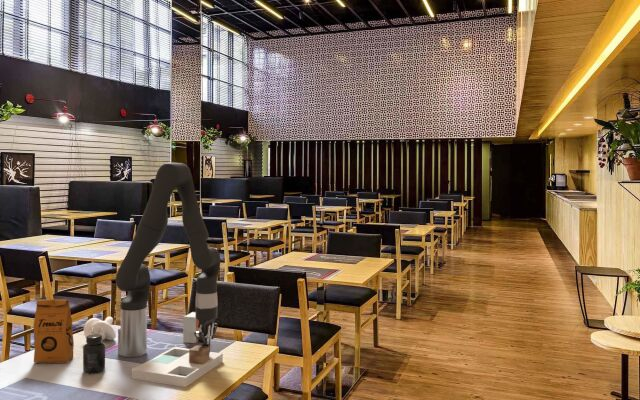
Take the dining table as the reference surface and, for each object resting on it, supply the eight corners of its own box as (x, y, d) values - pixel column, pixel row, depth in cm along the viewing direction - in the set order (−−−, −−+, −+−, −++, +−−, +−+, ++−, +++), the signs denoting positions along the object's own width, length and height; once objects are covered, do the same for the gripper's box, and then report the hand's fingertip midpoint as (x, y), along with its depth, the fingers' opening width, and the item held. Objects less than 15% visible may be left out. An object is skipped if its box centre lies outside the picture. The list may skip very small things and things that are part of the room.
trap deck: (131, 378, 164) (132, 369, 164) (174, 355, 187) (174, 347, 187) (185, 387, 158) (185, 377, 158) (222, 361, 181) (222, 353, 181)
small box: (195, 343, 201) (195, 317, 200) (182, 342, 202) (182, 316, 202) (204, 337, 209) (204, 312, 208) (191, 336, 210) (191, 311, 209)
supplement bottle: (109, 369, 172) (109, 334, 172) (94, 376, 166) (94, 340, 165) (93, 366, 175) (93, 331, 174) (78, 373, 168) (78, 337, 168)
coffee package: (66, 365, 175) (66, 302, 174) (29, 365, 174) (29, 302, 173) (78, 355, 184) (78, 296, 184) (43, 355, 184) (43, 296, 183)
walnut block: (188, 362, 171) (189, 349, 171) (196, 358, 176) (196, 345, 176) (202, 364, 170) (202, 351, 170) (209, 359, 175) (209, 346, 174)
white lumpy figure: (124, 339, 205) (124, 317, 205) (100, 347, 194) (100, 324, 194) (104, 335, 210) (104, 313, 209) (79, 343, 199) (79, 320, 199)
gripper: (206, 299, 184) (206, 346, 185) (186, 308, 172) (186, 358, 172) (225, 301, 182) (224, 349, 183) (206, 310, 170) (206, 361, 170)
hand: (206, 353), depth 178 cm, fingers closed
